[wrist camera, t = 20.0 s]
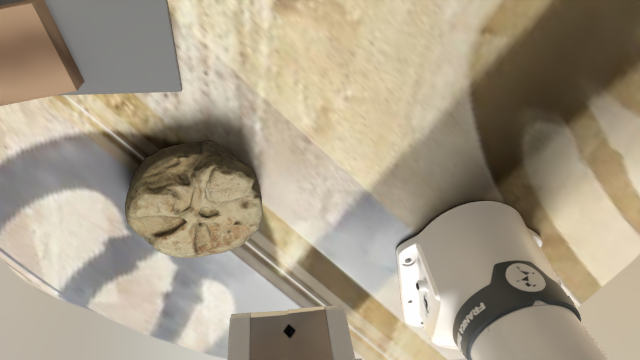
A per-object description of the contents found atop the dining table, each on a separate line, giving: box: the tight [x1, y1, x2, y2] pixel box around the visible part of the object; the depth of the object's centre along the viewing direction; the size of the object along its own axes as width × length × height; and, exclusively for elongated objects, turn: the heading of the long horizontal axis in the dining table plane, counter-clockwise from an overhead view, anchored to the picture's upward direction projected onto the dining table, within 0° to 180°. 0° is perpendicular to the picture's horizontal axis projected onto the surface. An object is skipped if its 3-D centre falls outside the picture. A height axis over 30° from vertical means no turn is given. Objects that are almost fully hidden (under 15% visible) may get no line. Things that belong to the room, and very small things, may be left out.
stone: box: [125, 141, 263, 258], centre depth 44 cm, size 13×13×5 cm
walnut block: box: [0, 0, 85, 106], centre depth 35 cm, size 7×7×2 cm
